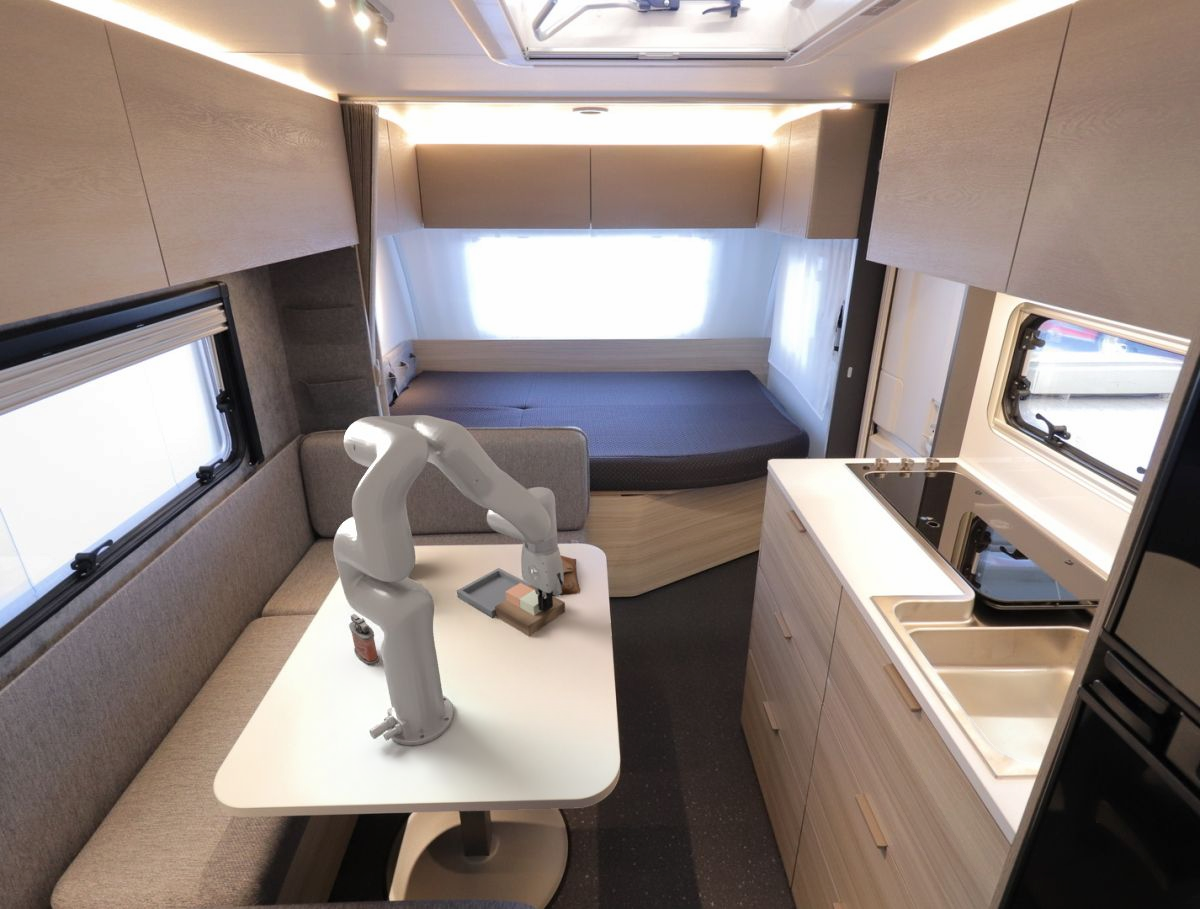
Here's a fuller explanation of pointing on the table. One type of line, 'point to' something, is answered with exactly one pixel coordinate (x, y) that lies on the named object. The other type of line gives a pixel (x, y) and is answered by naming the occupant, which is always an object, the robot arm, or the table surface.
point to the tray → (489, 591)
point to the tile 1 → (517, 593)
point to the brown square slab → (528, 615)
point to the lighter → (363, 641)
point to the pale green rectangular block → (530, 603)
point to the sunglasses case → (569, 577)
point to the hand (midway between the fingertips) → (545, 608)
